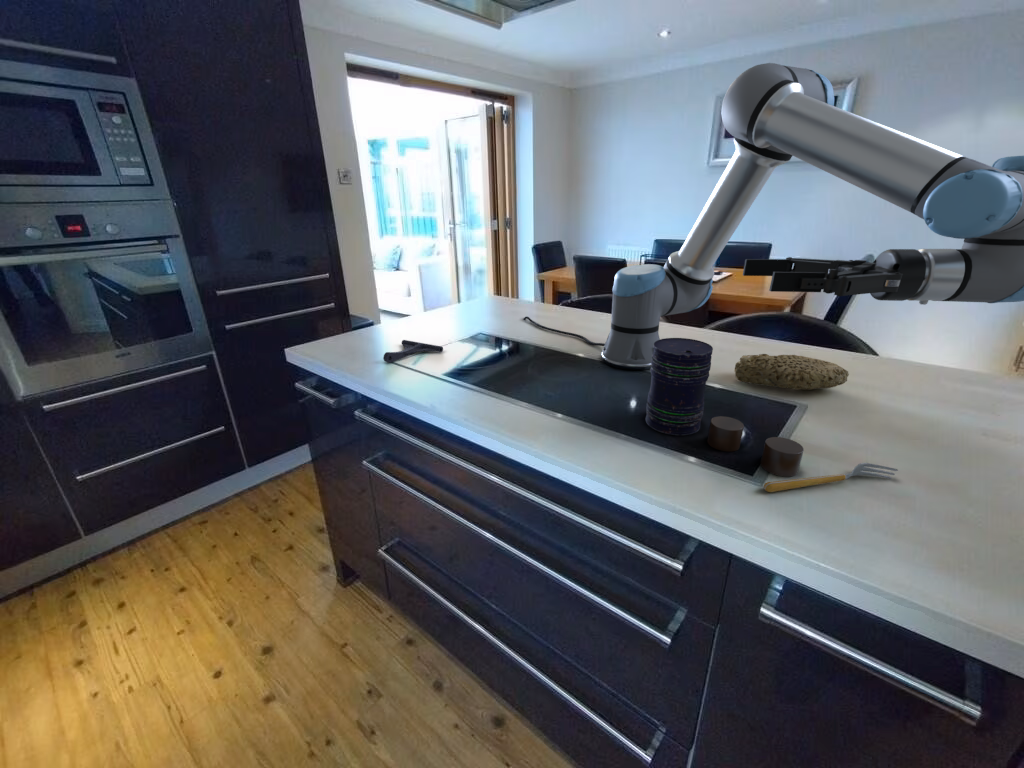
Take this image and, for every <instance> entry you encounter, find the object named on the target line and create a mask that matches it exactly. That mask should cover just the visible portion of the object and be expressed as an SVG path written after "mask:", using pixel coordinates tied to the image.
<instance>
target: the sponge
mask: <svg viewBox="0 0 1024 768" xmlns="http://www.w3.org/2000/svg"><path fill="white" fill-rule="evenodd" d="M733 371H734V375H735V379H736V381H739V382H741V383H748V384H753V385H758V386H768V387H776V388H780V389H789V390H794V391H795V390H796V391H800V390H802V391H805V390H807V391H810V390H818V389H830V388H835V387H838V386H841V385H844V384H845V383H846V382H848V377H849V375H850V373H849V371H848V370H847V369H845V368H843V367H842V366H840V365H838V364H837V363H835V362H831V361H826V360H822V359H818V358H815V357H814V358H813V357H808V356H805V355H797V354H778V355H769V354H767V353H760V354H748V355H741V357H739V361H737V362H735V365H734V370H733Z"/></svg>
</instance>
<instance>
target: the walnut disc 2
mask: <svg viewBox="0 0 1024 768" xmlns="http://www.w3.org/2000/svg"><path fill="white" fill-rule="evenodd" d="M804 451H805V449H804V447H803V446H802V444H800V443H799V442H797V441H795V440H793V439H790V438H786V437H782V436H772V437H768V438H766V440H765V442H764V445H763V450H762V455H761V459H760V467H761V468H762V469H763V470H765V471H766V472H768V473H770V474H772V475H775V476H779V477H783V478H784V477H785V478H787V477H788V478H791V477H794V476H797V474H798V473H799V469H800V466H801V462H802V458H803V455H804Z"/></svg>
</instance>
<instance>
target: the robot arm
mask: <svg viewBox="0 0 1024 768" xmlns="http://www.w3.org/2000/svg"><path fill="white" fill-rule="evenodd" d="M722 99H723V100H722V104H721V111H720V112H721V121H722V125H723V127H724V128H725V130H726V131H727V133H729V134H730V135H731V136H732V137H733V143H734V148H735V151H734V153H733V154H732V156H731V158H730V160H729V162H728V163H727V165H726V167H725V169H724V171H723V172H722V174H721V176H720V177H719V179H718V181H717V183H716V185H715V187H714V188H713V190H712V192H711V194H710V195H709V197H708V199H707V201H706V203H705V204H704V206H703V208H702V210H701V211H700V213H699V215H698V217H697V219H696V221H695V222H694V225H693V226H692V228H691V229H690V232H689V233H688V235H687V236H686V239H685V241H684V242H683V244H682V246H681V247H680V249H679V250H678V251H674V252H672V253H670V254H669V256H668V258H667V260H666V262H665V264H664V265H663V266H662V265H659V264H653V263H652V264H651V263H643V264H634V265H629V266H626V267H623V268H620V269H619V270H618V271H617V272H616V273H615V274H614V281H613V284H612V285H613V286H612V289H611V290H612V298H611V299H612V301H611V318H610V330H609V333H608V336H607V338H606V340H605V343H604V342H593V341H591V340H590V339H588V338H586V337H585V336H584V335H581V334H577V333H575V332H574V333H573V332H569V331H564V330H561V329H556V328H551V327H548V326H544V325H542V324H540V323H537V322H536V321H534V320H533V319H531V317H529V316H527V315H526V316H524V317H523V318H522V320H524V321H526V320H528V321H529V322H530V323H532V324H533V325H535V326H536V327H538V328H541V329H543V330H545V331H550V332H555V333H559V334H562V335H567V336H572V337H576V338H579V339H581V340H583V341H585V342H586V343H587V344H588V345H592V346H596V347H597V346H598V347H603V348H602V351H601V360H602V362H603V363H604V364H606V365H608V366H609V367H613V368H617V369H621V370H627V371H646V370H650V369H651V359H652V356H653V350H654V349H653V346H654V342H655V341H657V340H660V334H659V332H660V331H659V330H660V322H661V317H666V316H672V315H677V314H683V313H689V312H691V311H694V310H697V309H699V308H701V307H702V306H704V305H705V304H706V303H707V302H708V300H709V299H710V297H711V295H712V292H713V288H714V287H713V285H712V283H714V281H713V278H714V277H715V269H714V268H713V266H714V265H715V263H716V262H717V260H718V258H719V257H720V255H721V253H723V250H724V249H725V247H726V246H727V244H728V243H729V241H730V240H731V238H732V237H733V235H734V233H735V232H736V230H737V228H738V227H739V226H740V225H741V222H742V221H743V219H744V218H745V216H746V214H747V213H748V212H749V211H750V208H752V206H753V204H754V202H755V201H756V199H757V197H758V196H759V194H760V193H761V191H762V190H763V188H764V187H765V185H766V184H767V182H768V180H769V179H770V177H771V176H772V174H773V173H774V171H775V170H776V168H777V167H779V166H781V165H784V164H786V163H789V162H790V161H791V159H792V158H793V157H794V158H797V159H799V160H801V161H803V162H805V163H807V164H809V165H811V166H813V167H815V168H818V169H819V170H822V171H824V172H826V173H828V174H830V175H832V176H834V177H836V178H838V179H840V180H842V181H844V182H847V183H848V184H850V185H852V186H855V187H857V188H859V189H861V190H863V191H865V192H868V194H869V193H870V194H872V195H874V196H876V197H878V198H880V199H882V200H884V201H886V202H888V203H891V204H892V205H894V206H897V207H898V208H901V209H902V210H905V211H907V212H909V213H910V214H913V215H915V216H917V217H918V218H920V219H922V220H924V222H925V224H926V226H927V227H928V228H929V229H930V231H931V232H933V233H935V234H937V235H939V236H941V237H946V238H952V239H957V240H958V239H961V240H963V243H962V246H961V248H918V249H914V248H910V249H909V248H889V249H886V250H884V251H882V252H881V253H879V254H878V255H877V256H876V258H875V259H874V261H872V262H871V261H870V262H869V261H867V260H865V259H849V260H844V259H819V258H818V259H817V258H802V257H800V258H799V257H792V256H789V257H785V258H783V259H782V258H773V259H772V258H745V260H744V264H743V271H742V276H743V277H771V280H770V285H769V290H768V291H769V292H771V293H772V292H774V293H775V292H777V293H778V292H779V293H781V292H782V293H822V292H823V293H824V294H828V295H829V294H833V295H834V296H836V297H845V296H857V295H865V294H866V295H867V294H870V296H871V297H872V298H873V299H874V300H877V301H894V302H895V301H896V302H897V301H898V302H903V301H914V302H918V304H919V305H923V306H926V305H927V304H928V303H929V301H932V302H956V303H957V302H959V303H961V302H962V303H987V304H998V303H1018V302H1019V303H1020V302H1024V155H1013V156H1003V157H1000V158H998V159H996V160H995V161H994V162H993V163H992V164H991V165H989V164H986V163H984V162H981V161H978V160H976V159H973V158H969V157H966V156H965V155H962V154H960V153H957V152H953V151H951V150H949V149H946V148H944V147H941V146H939V145H936V144H934V143H931V142H928V141H926V140H923V139H921V138H918V137H915V136H913V135H910V134H908V133H905V132H902V131H901V130H897V129H895V128H892V127H889V126H886V125H884V124H882V123H879V122H876V121H873V120H871V119H868V118H866V117H864V116H861V115H858V114H857V113H856V114H855V113H853V112H850V111H848V110H845V109H843V108H840V107H838V106H835V92H834V87H833V85H832V83H831V81H830V80H829V79H828V77H826V76H825V75H824V74H822V73H819V72H817V71H815V70H814V69H808V68H806V67H805V68H803V67H797V66H791V65H790V66H789V65H783V64H780V63H775V62H766V63H760V64H756V65H754V66H752V67H750V68H747V69H746V70H744V71H742V72H741V73H740V74H739V75H738V76H737V77H736V78H735V79H734V80H733V81H732V83H731V84H730V85H729V87H728V88H727V90H726V92H725V94H724V97H723V98H722Z"/></svg>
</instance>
